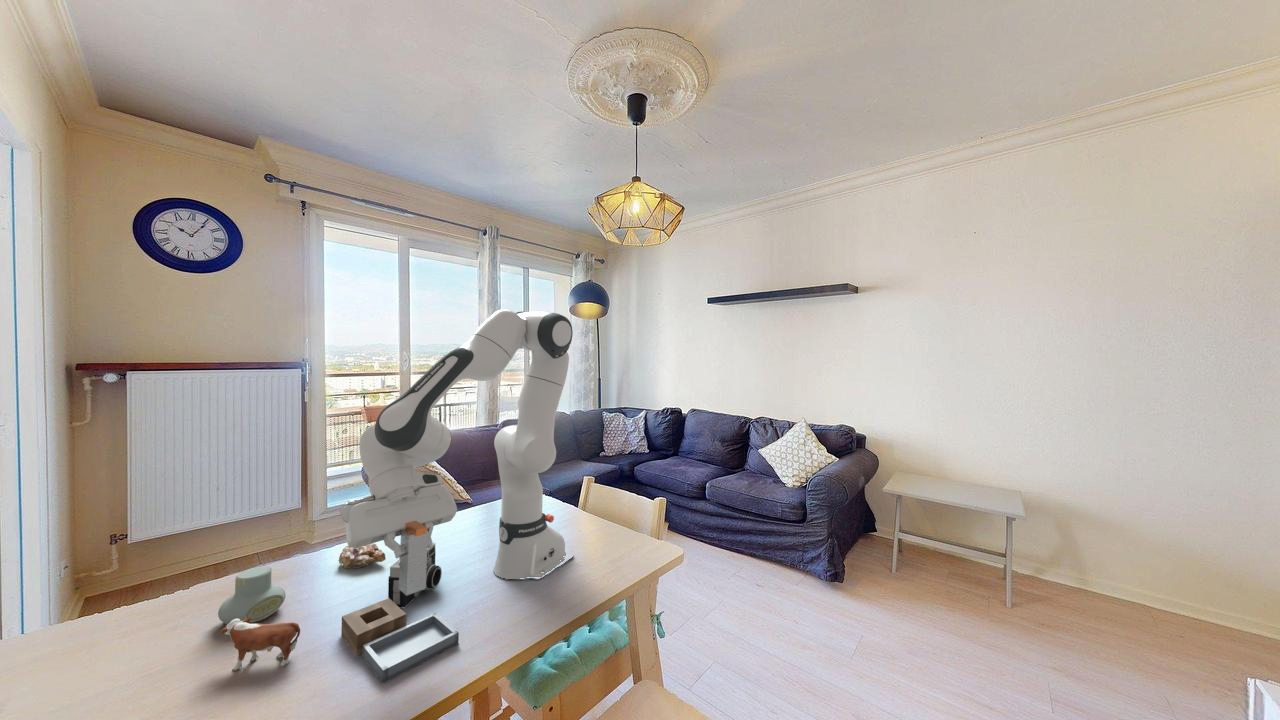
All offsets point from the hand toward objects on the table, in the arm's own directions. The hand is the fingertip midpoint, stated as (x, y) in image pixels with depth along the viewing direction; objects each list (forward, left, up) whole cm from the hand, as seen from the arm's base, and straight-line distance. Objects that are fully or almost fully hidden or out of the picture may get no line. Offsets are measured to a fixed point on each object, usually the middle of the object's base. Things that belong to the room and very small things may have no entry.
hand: (415, 551), depth 83 cm
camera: (-10, -21, -20) cm, 31 cm away
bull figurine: (+20, -19, -20) cm, 34 cm away
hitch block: (+3, -12, -20) cm, 23 cm away
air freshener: (+18, -38, -20) cm, 46 cm away
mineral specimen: (-6, -46, -20) cm, 51 cm away
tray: (0, -1, -20) cm, 20 cm away
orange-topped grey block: (0, -1, -8) cm, 8 cm away
